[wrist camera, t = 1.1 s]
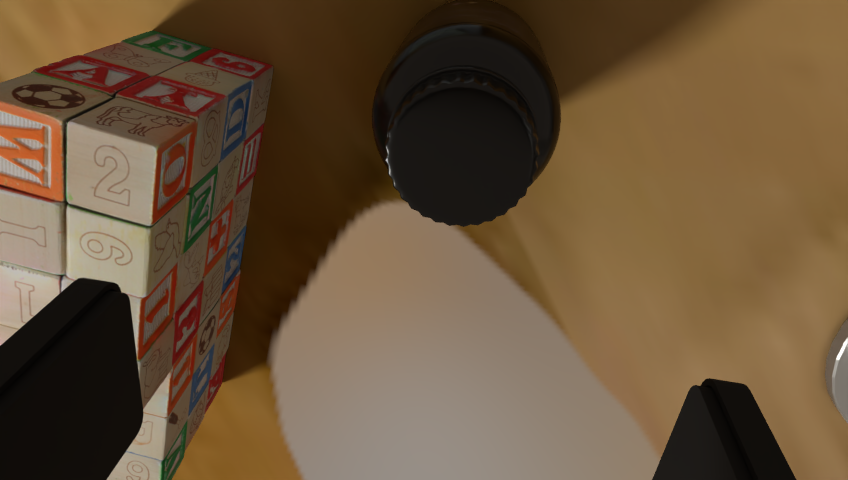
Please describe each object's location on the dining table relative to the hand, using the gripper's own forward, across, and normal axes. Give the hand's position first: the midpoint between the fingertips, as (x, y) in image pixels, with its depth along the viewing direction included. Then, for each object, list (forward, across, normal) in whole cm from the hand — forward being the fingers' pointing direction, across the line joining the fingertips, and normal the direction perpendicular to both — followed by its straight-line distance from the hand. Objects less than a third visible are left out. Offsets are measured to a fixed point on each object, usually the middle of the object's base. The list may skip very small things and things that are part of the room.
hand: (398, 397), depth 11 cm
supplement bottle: (+22, 0, 0) cm, 23 cm away
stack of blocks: (+23, +14, +11) cm, 29 cm away
